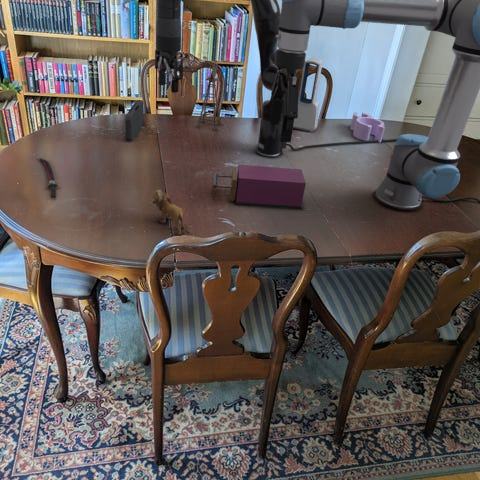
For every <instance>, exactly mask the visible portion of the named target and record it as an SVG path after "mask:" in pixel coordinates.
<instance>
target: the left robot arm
mask: <svg viewBox="0 0 480 480" xmlns="http://www.w3.org/2000/svg"><path fill="white" fill-rule="evenodd" d="M250 4H251V9H252V18H253V25H254V30H255V34H256V40H257V41H256V42H257V47H258V55H259V65H260V66H259V69H260V80H261V84H262V85H263V87H264V89H266V90H268V91H270V92H272V89H273V85H274V81H275V77H276V73H277V68H278V67H277V66H276V65H275V55H276V50H277V49H278V47H277V41H278V39H276V35H279V25H280V16H281V8H280V5H279V1H278V0H250ZM182 27H183V25H182V0H156V20H155V50H154V69H155V70H156V71H157V74H158V85H159V86H166V84H167V73H168V75H169V76H170V91H171V93H173V94H174V93H179V85H180V84H179V83H180V82H179V81H180V80H183V79H184V59H183V58H178V53H179V52H182V51H181V50H182V31H183V30H182ZM166 72H167V73H166ZM272 96H273V95H270V98H269V99H266V100H263V102H262V105H261V114H260V123H259V131H258V138H257V139H258V140H257V149H256V153H257V154H258V155H259V156H262V157H264V158H265V157H266V158H277V157H279V156H281V155H282V154H283V150H285V149H287V147H289V148H290V150H292V151H294V152H295V151H296V152H297V151H301V150H304V149H309V148H319V147H328V146H340V145H352V144H353V145H354V144H355V145H356V144H367V143H379V140H374V139H373V140H368V141H364V140H358V141H357V140H356V141H345V142H343V141H341V142H331V143H330V142H329V143H319V144H309V145H303V146H301V147H297V148H294V146H293V145H292V144H290V143H289V142H280V137H281V130H282V123H283V118H282V116H283V115H285V105H284V100H280V101H282V102H283V103H282V110H281V117H280V124H270V117H271V109H272V101H273V98H272ZM283 96H284V95H283ZM425 136H426V137H428V136H429V135H425ZM396 141H397V138H389V139H382V140H381V143H383V142H384V143H385V142H396Z"/></svg>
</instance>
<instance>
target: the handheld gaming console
mask: <svg viewBox="0 0 480 480" xmlns="http://www.w3.org/2000/svg"><path fill="white" fill-rule="evenodd" d="M144 115H145V114H144V101H143V100H139V99H138V100H136V102H134V103H133V105H132V106H131V108H130V109H129V110H128V111H127V113H126V114H125V117H124V128H125V129H124V130H125V139H126V141H133V140H134V139H135V137H136V136H137V134H138V133H139V131H140V130H141V128H142V127H143V125H144V122H145V116H144Z"/></svg>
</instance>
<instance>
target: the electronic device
mask: <svg viewBox="0 0 480 480" xmlns="http://www.w3.org/2000/svg"><path fill="white" fill-rule="evenodd" d="M323 63H324V62H323V60H320V59H318V58H316V57H315V58H308V59H305V64H304V67H303V68H302V75H301V81H300V88H299V92H298V118H295V119H294V124H293V129H294V130H295V129H296V130H301V131H306V132H311V133H312V132H314V131H315V130H316V129H317V128H318V124H319V112H320V111H319V110H320V103H319V101H318V99H317V95H318V91H319V84H320V80H321V74H322V69H323ZM310 65H315V66H316V69H315V74H314V81H313V86H312V91H311V98H306V97H305V95H306V87H307V83H308V82H307V81H308V76H309V69H310ZM291 113H292V112H291Z"/></svg>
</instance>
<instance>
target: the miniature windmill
mask: <svg viewBox="0 0 480 480" xmlns="http://www.w3.org/2000/svg"><path fill="white" fill-rule="evenodd" d="M215 57H216V58H214V60H212V62H213V64H210V63H208V62H205V61H202V63H201V64H202V65H201V66H202V67H201V68H204V69H205V68H206V69H207V68H211V72H210V76H208V77H207V78H206V79H205V80H206V81H208V84H206V85H207V87H206V90H205V91H206V92H205V95H204V100H203V104H202V107H201V111H200V115H199V118H198V123H197V128H200V124H201V122H202V123H204V121H207V122H213V126H214V127H213V128H214V130H215V131H216V130H217V121H218V125H221V119H220V117H221V115H220V109H219V104H218V103H219V102H218V94H217V87H216V86H217V85H216V82H219V80H220V78H218V77H216V76H217V73H218V68H219V67H218V65H219V62H218V61H219V60H218V58H219V57H218V56H217V54H215ZM210 88H212V93H210ZM210 95H211V96H210ZM209 98H211V99H212V102H213V103H210V102H208V99H209ZM207 105H212V106H213V107H210V106H207ZM207 109H210V110H213V114H210V113H206V112H207V111H206V110H207ZM216 112H217V115H216ZM205 116H212V117H213V120H212V119H206V118H205Z"/></svg>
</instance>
